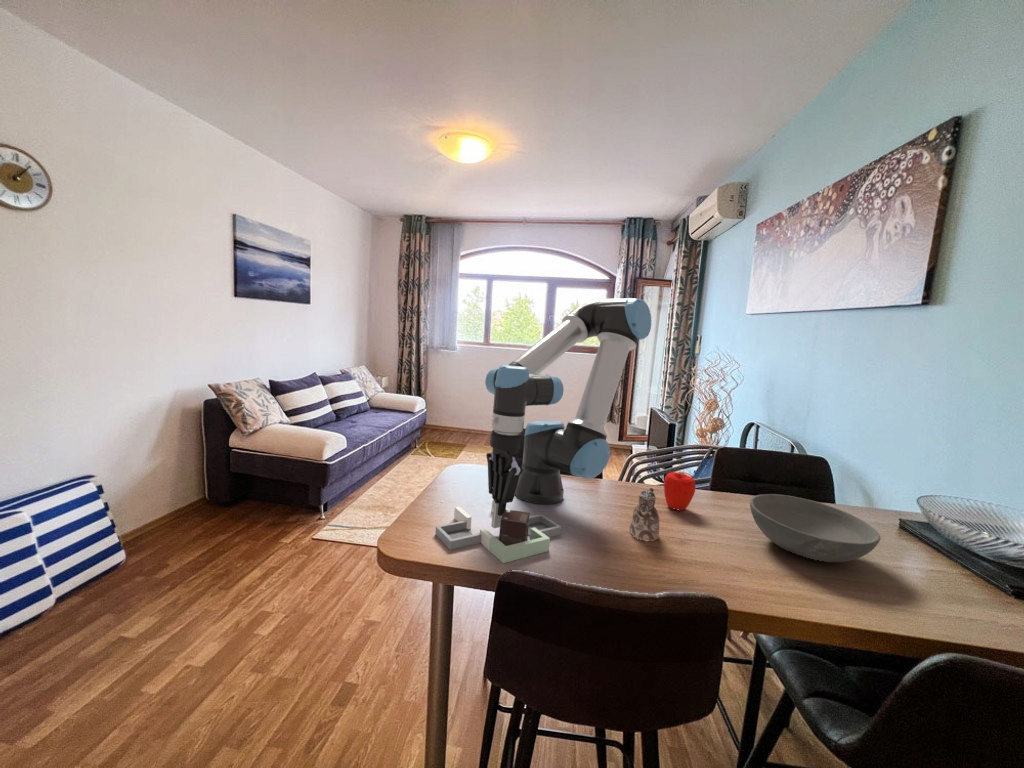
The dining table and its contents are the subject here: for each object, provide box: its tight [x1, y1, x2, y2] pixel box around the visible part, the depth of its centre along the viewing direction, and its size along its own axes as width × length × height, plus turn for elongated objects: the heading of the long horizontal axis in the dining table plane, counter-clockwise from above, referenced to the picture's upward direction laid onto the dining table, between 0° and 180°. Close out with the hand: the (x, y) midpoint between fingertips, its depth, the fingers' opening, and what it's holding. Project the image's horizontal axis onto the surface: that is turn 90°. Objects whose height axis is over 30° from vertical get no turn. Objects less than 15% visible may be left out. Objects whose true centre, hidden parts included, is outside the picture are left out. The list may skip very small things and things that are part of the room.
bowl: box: [749, 493, 881, 563], centre depth 105 cm, size 26×26×10 cm
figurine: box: [629, 487, 660, 541], centre depth 107 cm, size 7×7×12 cm
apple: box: [663, 471, 696, 511], centre depth 127 cm, size 9×9×11 cm
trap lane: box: [434, 500, 562, 564], centre depth 102 cm, size 28×24×3 cm
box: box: [498, 509, 530, 546], centre depth 96 cm, size 6×6×7 cm
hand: (497, 526), depth 101 cm, fingers closed
